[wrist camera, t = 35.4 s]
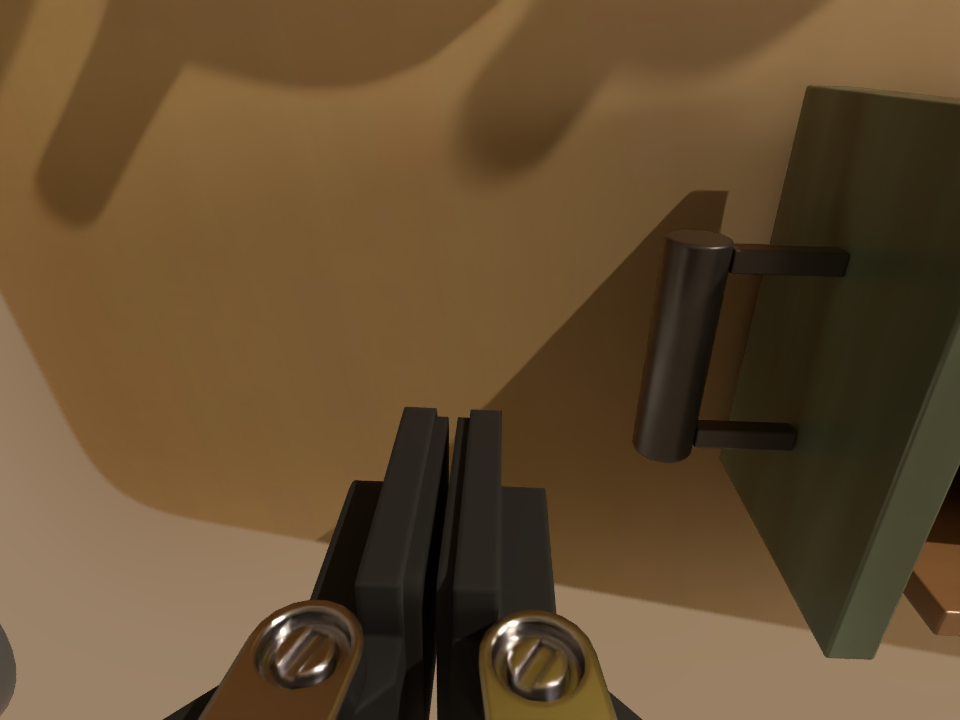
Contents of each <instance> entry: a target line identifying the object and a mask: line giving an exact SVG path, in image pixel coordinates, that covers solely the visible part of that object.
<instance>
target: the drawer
mask: <svg viewBox="0 0 960 720" xmlns="http://www.w3.org/2000/svg"><path fill="white" fill-rule="evenodd" d="M728 272H730V273H731V274H754V275H763V276H762V280H761V284H760V288H759V293H758V297H757V301H756V306H755V310H754V314H753V318H752V323H751V327H750V331H749V336H748V340H747V344H746V348H745V353H744V357H743V361H742V365H741V370H740V374H739V378H738V383H737V387H736V391H735V395H734V400H733V404H732V408H731V412H730V417H729V421H723V420H698V416H699V411H700V406H701V402H702V397H703V392H704V387H705V382H706V377H707V373H708V368H709V363H710V358H711V353H712V349H713V344H714V339H715V334H716V329H717V325H718V320H719V315H720V310H721V305H722V301H723V296H724V291H725V286H726V281H727V276H728ZM632 442H633V445H634V448H635V449H636V450H637V451H638V452H639V453H640V454H641V455H643V456H644V457H646V458H649V459H651V460H654V461H658V462H664V463H675V462H680V461H682V460H684V459H686V458H687V457H688V456H689V455H690V453H691V450H692V445H694V447H696V448H722V451H721V455H720V461H721V462H722V464H723V466H724V468H725V470H726V472H727V474H728V476H729V477H730V479H731V481H732V483H733V485H734V487H735V489H736V491H737V492H738V494H739V496H740V498H741V500H742V502H743V504H744V506H745V507H746V509H747V511H748V513H749V515H750V517H751V519H752V521H753V522H754V524H755V526H756V528H757V530H758V532H759V534H760V536H761V537H762V539H763V541H764V543H765V545H766V547H767V549H768V551H769V552H770V554H771V556H772V558H773V560H774V562H775V564H776V566H777V567H778V569H779V571H780V573H781V575H782V577H783V579H784V581H785V582H786V584H787V586H788V588H789V590H790V592H791V594H792V596H793V597H794V599H795V601H796V603H797V605H798V607H799V609H800V611H801V612H802V614H803V616H804V618H805V620H806V622H807V624H808V626H809V627H810V629H811V631H812V633H813V635H814V637H815V639H816V641H817V642H818V644H819V646H820V648H821V650H822V651H823V654H824V656H825V657H827V658H845V659H869V660H870V659H873V658H874V657H875V655H876V652H877V650H878V648H879V646H880V643H881V641H882V639H883V637H884V634H885V632H886V630H887V628H888V625H889V623H890V621H891V619H892V616H893V614H894V612H895V609H896V607H897V605H898V603H899V600H900V598H901V596H902V594H903V593H904V595H905V596H906V597H907V599H908V600H909V601H910V603H911V604H912V605H913V607H914V608H915V609H916V611H917V612H918V614H919V615H920V616H921V618H922V619H923V620H924V622H925V623H926V624H927V626H928V627H929V628H930V630H931V631H932V632H933V633H934V634H935V635H948V636H960V99H958V98H949V97H940V96H931V95H922V94H913V93H904V92H895V91H886V90H877V89H867V88H858V87H849V86H814V85H810V86H808V87H807V88H806V92H805V96H804V100H803V105H802V109H801V113H800V117H799V122H798V126H797V130H796V135H795V139H794V143H793V147H792V152H791V156H790V160H789V164H788V169H787V173H786V177H785V182H784V186H783V190H782V194H781V199H780V203H779V207H778V212H777V216H776V220H775V224H774V229H773V233H772V237H771V241H770V245H759V244H734V243H733V240H732V239H730V238H729V237H726V236H724V235H722V234H718V233H714V232H710V231H703V230H676V231H671V232H668V233H667V234H666V235H665V237H664V240H663V247H662V253H661V260H660V266H659V272H658V279H657V285H656V292H655V298H654V304H653V311H652V317H651V324H650V330H649V336H648V343H647V349H646V356H645V362H644V368H643V375H642V381H641V388H640V394H639V400H638V407H637V413H636V420H635V426H634V433H633V439H632Z"/></svg>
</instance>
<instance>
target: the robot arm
mask: <svg viewBox="0 0 960 720" xmlns="http://www.w3.org/2000/svg"><path fill="white" fill-rule="evenodd" d="M501 442H502V411H495V410H471V412H470V418H462V417H458V421H457V428H456V436H455V444H454V452H453V459H452V467H451V475H450V482H449V418H448V417H437V409H436V408H418V407H405V408H404V411H403V414H402V418H401V421H400V425H399V428H398V432H397V435H396V439H395V443H394V446H393V450H392V453H391V457H390V460H389V464H388V467H387V471H386V475H385V478H384V482H383V481H359V480H355V481H353V482H352V484H351V486H350V488H349V491H348V494H347V497H346V499H345V502H344V505H343V508H342V511H341V513H340V516H339V519H338V522H337V525H336V528H335V530H334V533H333V536H332V539H331V542H330V545H329V547H328V550H327V553H326V556H325V559H324V562H323V564H322V567H321V570H320V573H319V576H318V578H317V582H316V584H315V587H314V590H313V593H312V596H311V599H310V600H307V601H302V602H297V603H293V604H290V605H288V606H286V607H284V608H282V609H279V610H277V611H275V612H274V613H273V614H271V615H270V616H269V617H267V618H266V619H264V620H263V621H262V622H261V623H260V624H259V625H258V626H257V627H256V629H255V630H254V631H253V632H252V633H251V635H250V636H249V638H248V639H247V641H246V642H245V644H244V646H243V647H242V649H241V651H240V652H239V654H238V655H237V657H236V659H235V660H234V662H233V664H232V665H231V667H230V668H229V670H228V672H227V673H226V675H225V677H224V678H223V680H222V681H221V683H220V685H218V686H217V687H215V688H213V689H212V690H210V691H208V692H207V693H205V694H204V695H202V696H200V697H199V698H197V699H195V700H194V701H192V702H191V703H189V704H187V705H186V706H184V707H183V708H181V709H179V710H178V711H176V712H174V713H173V714H171V715H170V716H168V717H166V718H165V719H163V720H429V714H430V705H431V697H432V689H433V680H434V672H435V663H436V654H437V719H438V720H642V719H641V718H640V717H639V716H637V715H636V714H635V713H634V712H633V711H631V710H630V709H629V708H628V707H627V706H626V705H624V704H623V703H622V702H621V701H620V700H619V699H617V698H616V697H615V696H614V695H613V694H611V693H610V692H609V691H608V689H607V685H606V682H605V679H604V676H603V673H602V670H601V667H600V663H599V660H598V657H597V654H596V652H595V650H594V648H593V646H592V644H591V642H590V640H589V638H588V637H587V636H586V635H585V634H584V633H583V631H582V630H581V629H580V628H579V627H578V626H577V625H575V624H574V623H572V622H571V621H569V620H567V619H566V618H564V617H562V616H560V615H557V614H556V605H555V593H554V582H553V570H552V559H551V547H550V536H549V524H548V513H547V501H546V492H545V489H544V488H526V487H503V486H501Z"/></svg>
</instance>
